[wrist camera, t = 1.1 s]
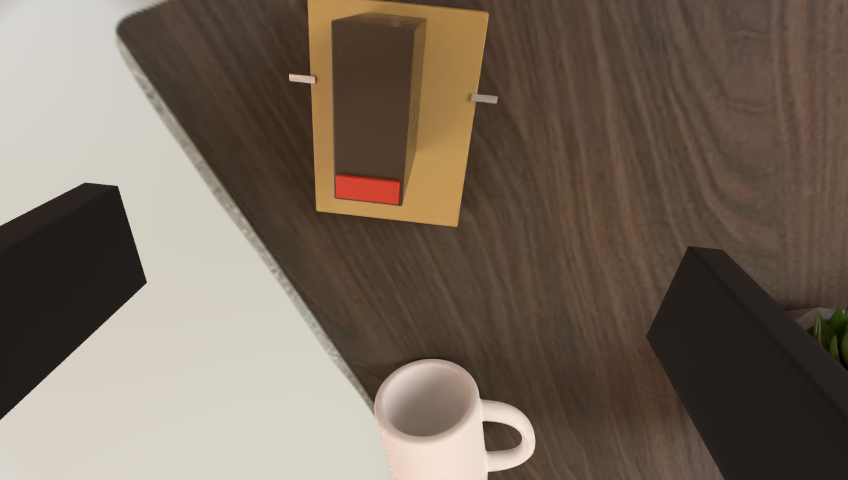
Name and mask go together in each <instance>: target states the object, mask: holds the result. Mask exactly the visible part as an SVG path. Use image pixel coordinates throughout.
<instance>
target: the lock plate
mask: <svg viewBox="0 0 848 480" xmlns="http://www.w3.org/2000/svg"><path fill="white" fill-rule="evenodd" d="M366 12H373V13H382V14H392V15H401V16H410V17H420V18H426V19H427V26H426V37H425V49H424V61H423V73H422V85H421V97H420V108H419V120H418V132H417V144H416V154H415V158H414V162H413V166H412V169H411V173H410V177H409V181H408V185H407V189H406V193H405V196H404V200H403V204H402V206H396V205H387V204H378V203H369V202H360V201H352V200H343V199H335V197H334V149H333V92H332V34H331V22H332V20H336V19H340V18H344V17H349V16H353V15H357V14H362V13H366ZM488 18H489V14H488V13H487V12H486V11H477V10H467V9H458V8H449V7H439V6H430V5H421V4H411V3H402V2H392V1H383V0H308V21H309V45H310V69H311V76H309V75H300V74H289V79H290V81H295V82H304V83H311V93H312V117H313V141H314V166H315V190H316V210H317V211H321V212H330V213H339V214H348V215H357V216H365V217H374V218H383V219H392V220H401V221H410V222H418V223H427V224H436V225H445V226H454V227H457V225H458V218H459V211H460V205H461V198H462V191H463V185H464V178H465V171H466V165H467V158H468V151H469V145H470V138H471V131H472V125H473V118H474V111H475V104H476V101H478V102H487V103H497V99H498V96H492V95H483V94H477V91H478V84H479V78H480V71H481V64H482V58H483V51H484V44H485V38H486V31H487V24H488Z"/></svg>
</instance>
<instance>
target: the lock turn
mask: <svg viewBox="0 0 848 480" xmlns="http://www.w3.org/2000/svg"><path fill="white" fill-rule="evenodd" d="M426 26H427V19H426V18H420V17H410V16H401V15H392V14H382V13H373V12H366V13H362V14H357V15H353V16H349V17H344V18H340V19H336V20H332V22H331V34H332V92H333V149H334V197H335V199H343V200H352V201H360V202H369V203H378V204H387V205H396V206H402V204H403V200H404V196H405V193H406V189H407V185H408V181H409V177H410V173H411V169H412V166H413V162H414V158H415V154H416V144H417V132H418V120H419V108H420V97H421V85H422V73H423V61H424V49H425V37H426Z"/></svg>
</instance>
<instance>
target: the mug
mask: <svg viewBox="0 0 848 480" xmlns="http://www.w3.org/2000/svg"><path fill="white" fill-rule="evenodd" d="M374 412H375V418H376V421H377V424H378V428H379V431H380V434H381V438H382V441H383V445H384V448H385V452H386V455H387V458H388V462H389V465H390V468H391V472H392V475H393V479H394V480H487V477H488V472H490V471H498V470H504V469H509V468H512V467H515V466H517V465H520V464H521V463H523V462H525V461H526V460H527V459H528V458H529V457H530V456H531V455H532V453H533V451H534V449H535V435H534V431H533V428H532V425H531V423H530V422H529V420H528V419H527V417H526V416H525V415H524V414H523V413H522V412H521V411H520V410H518V409H517V408H515V407H513V406H511V405H509V404H506V403H503V402H498V401H492V400H481V399H480V398H479V391H478V388H477V385H476V383H475V381H474V379H473V378H472V376H471V375H470V374H469V373H468V372H467V371H466V370H465V369H463V368H462V367H460V366H459V365H457V364H455V363H452V362H450V361H446V360H441V359H423V360H418V361H414V362H411V363H408V364H406V365H404V366H402V367H400V368H398V369H397V370H395V371H394V372H393V373H392V374H390V375H389V376H388V377H387V378H386V380H385V381H384V382H383V383H382V385H381V386H380V388H379V390H378V392H377V395H376V398H375V404H374ZM483 421H493V422H500V423H504V424H508V425H510V426H512V427H514V428H516V429H517V430H518V431H519V432H520V433H521V435H522V442H521V444H520V445H519V446H517V447H515V448H513V449H509V450H502V451H486V450H485V444H484V435H483V425H482V422H483Z"/></svg>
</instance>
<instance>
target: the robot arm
mask: <svg viewBox="0 0 848 480" xmlns="http://www.w3.org/2000/svg"><path fill="white" fill-rule="evenodd" d="M146 283H147V282H146V278H145V275H144V272H143V268H142V265H141V261H140V258H139V255H138V252H137V248H136V245H135V242H134V238H133V235H132V232H131V229H130V225H129V222H128V219H127V215H126V212H125V209H124V205H123V202H122V199H121V195H120V192H119V189H118V186H112V185H103V184H93V183H84V184H81V185H80V186H78V187H76V188H74V189H72V190H70V191H68V192H66V193H64V194H62V195H60V196H58V197H56V198H54V199H52V200H50V201H48V202H46V203H44V204H42V205H40V206H38V207H37V208H35V209H33V210H31V211H29V212H27V213H25V214H23V215H21V216H19V217H17V218H15V219H13V220H11V221H9V222H8V223H5V224H3V225H1V226H0V420H1V419H2V418H3V417H4V416H5V415H6V414H7V413H8V412H9V411H10V410H11V409H13V408H14V407H15V406H16V405H17V404H18V403H19V402H20V401H21V400H22V399H23V398H24V397H25V396H26V395H28V394H29V393H30V392H31V391H32V390H33V389H34V388H35V387H36V386H37V385H38V384H39V383H40V382H41V381H42V380H43V379H45V378H46V377H47V376H48V375H49V374H50V373H51V372H52V371H53V370H54V369H55V368H56V367H57V366H58V365H60V364H61V362H63V361H64V360H65V359H66V358H67V357H68V356H69V355H70V354H71V353H72V352H73V351H74V350H76V349H77V348H78V347H79V346H80V345H81V344H82V343H83V342H84V341H85V340H86V339H87V338H88V337H89V336H90V335H91V334H93V333H94V332H95V331H96V330H97V329H98V328H99V327H100V326H101V325H102V324H103V323H104V322H105V321H106V320H108V319H109V318H110V317H111V316H112V315H113V314H114V313H115V312H116V311H117V310H118V309H119V308H120V307H121V306H123V305H124V304H125V303H126V302H127V301H128V300H129V299H130V298H131V297H132V296H133V295H134V294H135V293H136V292H137V291H138V290H140V289H141V288H142V287H143V286H144V285H145V284H146ZM646 338H647V339H648V341H649V343H650V345H651V347H652V349H653V350H654V352H655V354H656V356H657V358H658V359H659V361H660V363H661V365H662V367H663V369H664V370H665V372H666V374H667V376H668V378H669V379H670V381H671V383H672V385H673V387H674V389H675V390H676V392H677V394H678V396H679V398H680V399H681V401H682V403H683V405H684V407H685V409H686V410H687V412H688V414H689V416H690V418H691V419H692V421H693V423H694V425H695V427H696V429H697V430H698V432H699V434H700V436H701V438H702V439H703V441H704V443H705V445H706V447H707V449H708V450H709V452H710V454H711V456H712V458H713V459H714V461H715V463H716V465H717V467H718V469H719V470H720V472H721V474H722V476H723V478H724V479H725V480H848V371H847V370H846V369H845V368H844V367H843V366H842V365H841V364H840V363H839V362H838V361H837V360H836V359H835V358H834V357H833V356H831V355H830V354H829V353H828V352H827V351H826V350H825V349H824V348H823V347H822V346H821V345H820V344H819V343H818V342H817V341H816V340H815V339H814V338H813V337H812V336H811V335H810V334H809V333H808V332H807V331H806V330H805V329H804V328H803V327H802V326H801V325H799V324H798V323H797V322H796V321H795V320H794V319H793V318H792V317H791V316H790V315H789V314H788V313H787V312H786V311H785V310H784V309H783V308H782V307H781V306H780V305H779V304H778V303H777V302H776V301H775V300H774V299H773V298H772V297H771V296H770V295H769V294H767V293H766V292H765V291H764V290H763V289H762V288H761V287H760V286H759V285H758V284H757V283H756V282H755V281H754V280H753V279H752V278H751V277H750V276H749V275H748V274H747V273H746V272H745V271H744V270H743V269H742V268H741V267H740V266H739V265H738V264H737V263H735V262H734V261H733V260H732V259H731V258H730V257H729V256H728V255H727V254H726V253H725V252H724V251H723V250H719V249H710V248H700V247H691V246H688V248H687V250H686V252H685V255H684V257H683V259H682V261H681V263H680V265H679V267H678V270H677V272H676V274H675V276H674V278H673V280H672V282H671V285H670V287H669V289H668V291H667V293H666V295H665V297H664V300H663V302H662V304H661V306H660V308H659V310H658V313H657V315H656V317H655V319H654V321H653V323H652V325H651V328H650V330H649V332H648V334H647V336H646Z"/></svg>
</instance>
